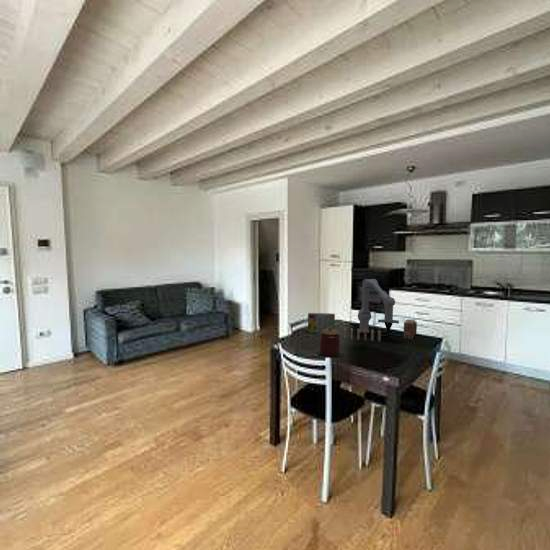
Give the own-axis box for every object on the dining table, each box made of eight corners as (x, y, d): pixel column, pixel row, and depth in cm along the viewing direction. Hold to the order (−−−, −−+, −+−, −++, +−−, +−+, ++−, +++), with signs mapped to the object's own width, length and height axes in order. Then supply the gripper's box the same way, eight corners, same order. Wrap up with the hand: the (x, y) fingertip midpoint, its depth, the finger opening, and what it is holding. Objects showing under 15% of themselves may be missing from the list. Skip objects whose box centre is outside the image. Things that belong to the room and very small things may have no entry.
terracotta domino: (363, 338, 252) (364, 329, 252) (366, 338, 252) (366, 329, 251) (364, 340, 247) (364, 330, 247) (366, 340, 247) (366, 331, 246)
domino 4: (370, 338, 251) (371, 329, 250) (373, 338, 251) (373, 329, 250) (371, 340, 246) (371, 331, 246) (373, 340, 246) (373, 331, 245)
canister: (324, 348, 226) (324, 323, 224) (342, 352, 219) (343, 325, 218) (316, 354, 215) (317, 327, 213) (335, 357, 208) (336, 330, 206)
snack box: (334, 331, 271) (334, 313, 270) (334, 333, 266) (335, 314, 264) (307, 330, 273) (308, 312, 272) (307, 332, 268) (308, 313, 266)
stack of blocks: (408, 332, 272) (409, 317, 271) (416, 333, 268) (417, 318, 267) (403, 338, 254) (403, 322, 252) (411, 339, 250) (412, 323, 249)
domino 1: (343, 336, 255) (343, 328, 255) (345, 337, 255) (346, 328, 254) (343, 338, 251) (343, 329, 250) (345, 338, 250) (346, 329, 250)
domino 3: (357, 337, 253) (357, 328, 253) (359, 338, 253) (359, 328, 252) (357, 339, 248) (357, 330, 248) (359, 339, 248) (359, 330, 247)
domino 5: (377, 339, 250) (378, 330, 249) (379, 339, 250) (380, 330, 249) (378, 341, 245) (378, 331, 245) (380, 341, 245) (380, 331, 244)
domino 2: (350, 337, 254) (350, 328, 254) (352, 337, 254) (352, 328, 253) (350, 339, 250) (350, 330, 249) (352, 339, 249) (352, 330, 249)
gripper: (378, 314, 242) (378, 333, 243) (399, 315, 239) (399, 334, 240) (378, 313, 249) (377, 330, 250) (398, 314, 246) (397, 332, 247)
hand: (388, 332), depth 245 cm, fingers closed
